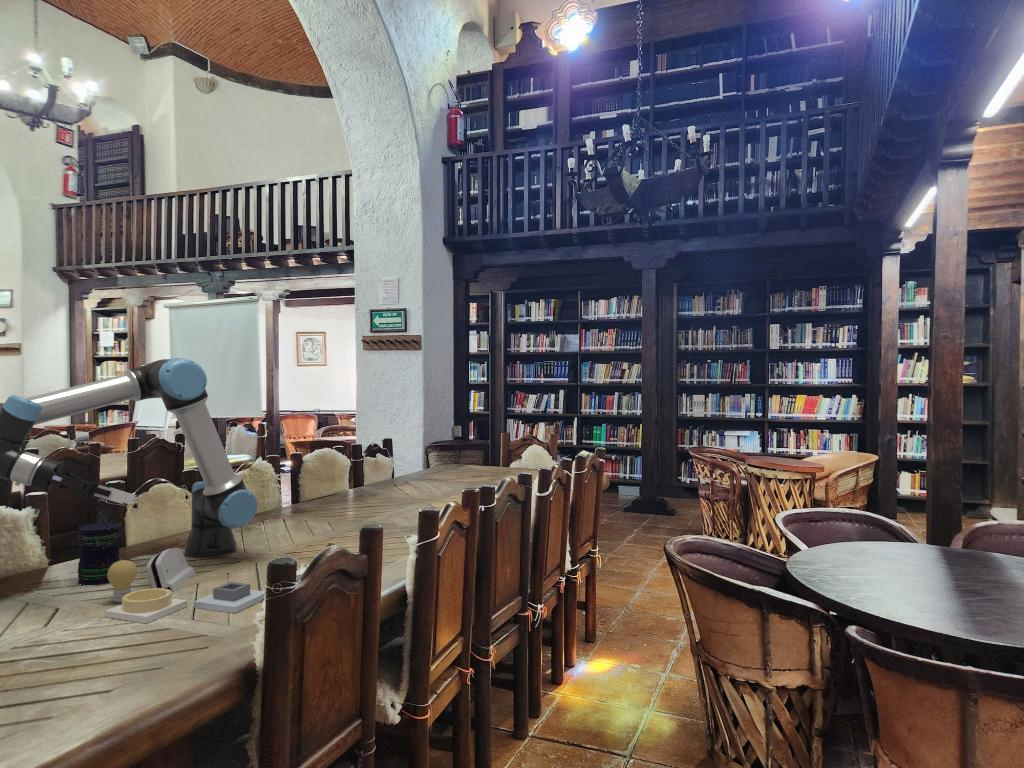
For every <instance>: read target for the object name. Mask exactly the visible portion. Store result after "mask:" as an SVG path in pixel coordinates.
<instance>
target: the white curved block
mask: <svg viewBox="0 0 1024 768" xmlns="http://www.w3.org/2000/svg"><path fill="white" fill-rule="evenodd" d="M146 571H147V574H148V578H149V582H150V586H151V589H154V588H162V589H168V588H170V591H171V592H174V591H176V590H177V589H178V588H180V587H181V586H182V585H184V583H187V581H189V578H190V577H191V578H193V577H194V574H195V575H196V571H195V569H194V567H192V566H189V564H188V561H187V559H186V557H185V553H184V552H183V550H182V549H181V548H179V547H173V548H166V549H165V550H162V551H160V552H158V553H156V554H155V555H153V556H152V557H151V558H150V560H149V561H148V562H147V565H146ZM191 578H190V579H191Z"/></svg>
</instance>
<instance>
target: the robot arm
mask: <svg viewBox="0 0 1024 768" xmlns="http://www.w3.org/2000/svg"><path fill="white" fill-rule="evenodd" d="M207 382H208V378H207V374H206V372H205V370H204V368H203V367H202V366H201V365H200V364H198V363H197V362H196V361H193V360H192V359H187V358H183V357H180V358H176V357H175V358H164V359H163V358H162V359H159V360H155V361H152V362H149V363H147V364H144V365H141V366H138V367H134V368H130V369H126V370H125V372H124V373H123V374H120V375H116V376H115V375H114V376H112V377H108V378H103V379H100V380H94V381H92V382H87V383H84V384H83V383H82V384H79V385H75V386H71V387H67V388H62V389H59V390H54V391H51V392H49V391H48V392H46V393H42V394H41V393H40V394H38V395H33V396H29V397H25V398H24V397H21V396H18V395H9V396H8V397H7V399H6V400H5V402H0V479H2V480H7V481H11V482H15V483H14V485H15V486H17V487H18V486H20V485H25V486H28V487H29V486H31V487H32V488H34V489H37V490H39V491H43V492H50V491H51V490H52V489H53V488H55V485H59V486H58V488H61V489H63V490H68V491H70V490H71V491H76V492H81V493H84V494H87V496H86V497H88V498H93V496H94V497H97V498H100V499H103V500H108V501H110V502H115V503H118V504H121V505H123V504H126V505H129V506H130V505H131V506H132V505H133V503H134V501H135V498H136V497H137V495H136V494H134V493H131V492H127V491H124V490H122V489H121V490H120V489H117V488H114V487H112V485H111V484H109V483H108V484H107V485H102V484H99V483H95V482H91V481H90V480H89V481H88V480H87V478H84V477H81V476H78V475H77V474H74V473H72V472H67V471H66V473H65V474H62V472H63V469H64V464H63V462H61V461H58V460H54V459H51V458H45V456H42V455H39V454H36V453H32V452H28V451H25V450H21V449H22V448H23V446H24V443H25V442H26V440H27V438H28V437H29V435H30V433H31V431H32V429H33V427H34V426H36V425H40V424H44V423H49V422H52V421H55V420H60V419H62V418H67V417H71V416H75V415H77V414H82V413H85V412H89V411H93V410H97V409H100V408H103V407H108V406H112V405H115V404H120V403H123V402H126V401H127V402H128V401H130V400H133V401H135V402H140V401H144V400H147V399H161V400H162V402H163V404H164V407H165V409H166V412H169V413H172V414H174V416H175V417H176V420H177V422H178V425H179V427H180V429H181V431H182V434H183V436H184V439H185V441H186V443H187V446H188V448H189V450H190V453H191V455H192V457H193V459H194V462H195V464H196V466H197V468H198V471H199V473H200V475H201V478H202V480H203V481H196V482H194V483H193V484H192V488H191V493H190V494H191V527H190V528H191V529H190V531H189V534H188V537H187V540H186V544H185V545H184V556H187V557H192V558H212V557H214V558H215V557H221V556H222V557H223V556H226V555H230V554H232V553H234V552H236V551H237V541H236V540H235V535H234V532H233V529H234V528H236V529H237V528H242V527H243V526H245V525H247V524H248V523H250V522H251V521H252V520H253V518H254V517H255V515H256V512H257V511H258V504H259V503H258V498H257V496H256V495H255V493H253V492H252V491H250V490H249V489H247V486H246V484H245V482H244V480H243V477H242V476H241V475H238V474H235V472H234V469H233V467H232V464H231V463H230V459H229V457H228V455H227V453H226V451H225V448H224V446H223V443H222V441H221V439H220V436H219V433H218V431H217V428H216V426H215V424H214V422H213V418H212V416H211V414H210V412H209V409H208V407H207V404H206V403H207V400H208V398H209V394H208V392H207V389H206V386H207V384H208V383H207ZM232 528H233V529H232Z"/></svg>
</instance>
